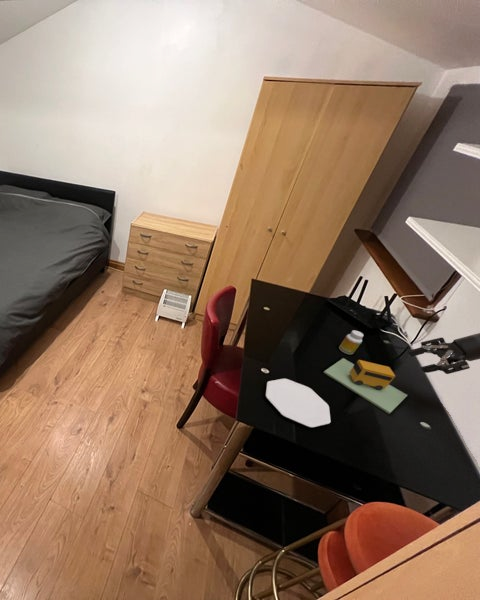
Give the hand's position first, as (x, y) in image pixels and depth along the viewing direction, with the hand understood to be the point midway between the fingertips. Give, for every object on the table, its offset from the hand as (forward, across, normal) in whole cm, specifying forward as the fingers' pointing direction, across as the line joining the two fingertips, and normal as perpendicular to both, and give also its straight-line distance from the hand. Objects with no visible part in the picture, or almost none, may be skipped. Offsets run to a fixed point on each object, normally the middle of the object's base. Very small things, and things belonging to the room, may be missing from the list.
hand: (415, 361), depth 113 cm
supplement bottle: (+17, -21, +5) cm, 27 cm away
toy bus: (+16, 0, +4) cm, 17 cm away
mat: (+17, 0, +5) cm, 17 cm away
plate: (+37, +21, -15) cm, 45 cm away
